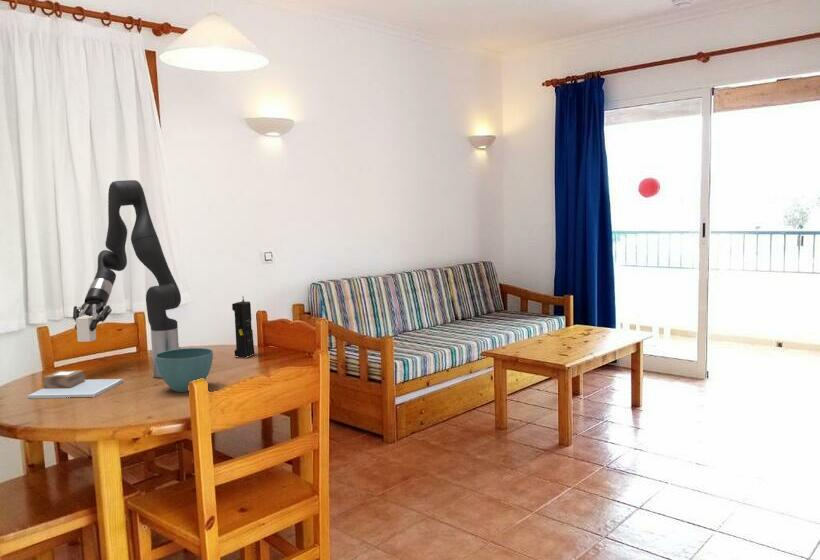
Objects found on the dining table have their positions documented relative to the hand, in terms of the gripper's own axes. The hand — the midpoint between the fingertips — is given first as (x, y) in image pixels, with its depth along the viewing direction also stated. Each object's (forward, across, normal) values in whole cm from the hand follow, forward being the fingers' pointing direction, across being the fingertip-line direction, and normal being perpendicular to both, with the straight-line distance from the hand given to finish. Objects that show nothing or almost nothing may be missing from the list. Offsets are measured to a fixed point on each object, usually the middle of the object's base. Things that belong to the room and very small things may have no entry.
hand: (84, 329), depth 231 cm
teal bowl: (+25, +43, +1) cm, 50 cm away
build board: (+24, +5, +2) cm, 24 cm away
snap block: (+2, 0, +4) cm, 4 cm away
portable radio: (-11, +48, +37) cm, 61 cm away
